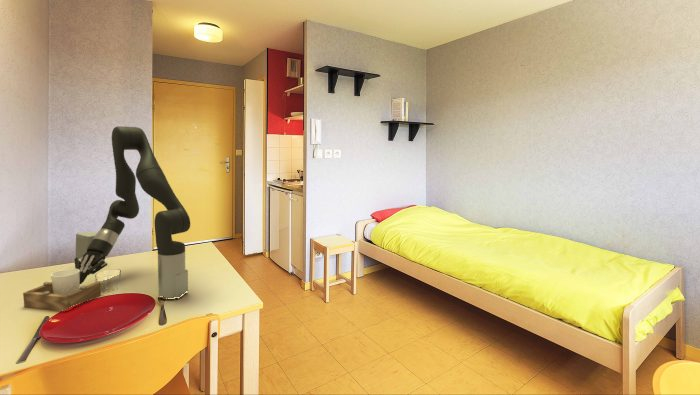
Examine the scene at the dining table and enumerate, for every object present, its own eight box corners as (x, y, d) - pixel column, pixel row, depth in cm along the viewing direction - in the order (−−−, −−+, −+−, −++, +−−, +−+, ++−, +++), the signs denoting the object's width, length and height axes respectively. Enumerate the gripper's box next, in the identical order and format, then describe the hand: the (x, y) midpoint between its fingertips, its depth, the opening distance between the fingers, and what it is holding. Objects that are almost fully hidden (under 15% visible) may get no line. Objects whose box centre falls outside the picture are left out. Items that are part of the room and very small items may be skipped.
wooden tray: (101, 294, 127) (100, 280, 126) (66, 311, 113) (65, 295, 113) (62, 290, 129) (61, 276, 128) (24, 306, 115) (22, 290, 114)
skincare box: (74, 268, 151) (72, 233, 149) (91, 263, 157) (89, 230, 155) (88, 271, 148) (86, 236, 146) (104, 266, 155) (103, 232, 153)
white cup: (48, 299, 121) (46, 273, 119) (74, 292, 128) (73, 267, 126) (59, 305, 117) (57, 278, 116) (85, 297, 124) (84, 271, 123)
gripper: (82, 236, 134) (54, 277, 124) (112, 239, 132) (86, 280, 122) (94, 245, 140) (68, 285, 130) (123, 248, 138) (99, 288, 128)
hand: (77, 283), depth 126 cm, fingers closed
